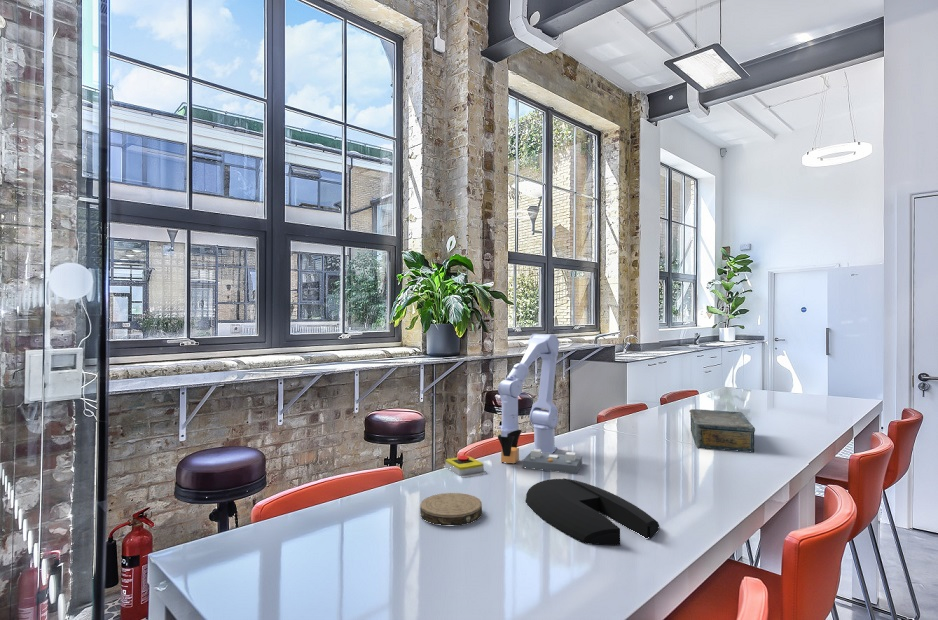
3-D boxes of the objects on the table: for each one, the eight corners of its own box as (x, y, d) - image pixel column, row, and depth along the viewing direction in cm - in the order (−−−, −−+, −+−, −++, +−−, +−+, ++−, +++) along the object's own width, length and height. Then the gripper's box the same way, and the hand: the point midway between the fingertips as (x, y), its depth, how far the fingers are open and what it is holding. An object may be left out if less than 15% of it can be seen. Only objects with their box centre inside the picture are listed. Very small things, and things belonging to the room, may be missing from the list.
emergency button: (466, 451, 182) (488, 461, 169) (466, 463, 182) (488, 475, 168) (442, 454, 177) (463, 465, 164) (442, 467, 177) (463, 479, 164)
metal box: (742, 434, 222) (742, 411, 222) (757, 453, 191) (756, 426, 191) (688, 431, 229) (688, 408, 229) (694, 449, 198) (694, 423, 198)
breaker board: (531, 458, 185) (530, 446, 185) (582, 463, 179) (581, 450, 179) (522, 468, 174) (522, 454, 174) (576, 473, 168) (576, 459, 168)
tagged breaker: (549, 463, 179) (549, 454, 179) (558, 464, 178) (558, 455, 178) (547, 465, 177) (547, 456, 177) (556, 466, 176) (556, 457, 176)
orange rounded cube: (505, 459, 185) (505, 446, 185) (519, 460, 183) (518, 447, 183) (501, 462, 180) (501, 449, 180) (515, 464, 179) (515, 451, 179)
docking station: (579, 484, 159) (579, 467, 159) (677, 535, 121) (677, 514, 121) (506, 494, 150) (506, 477, 150) (588, 554, 112) (587, 531, 112)
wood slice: (408, 513, 135) (408, 502, 136) (455, 499, 146) (455, 488, 146) (445, 533, 123) (445, 520, 123) (494, 516, 134) (494, 504, 134)
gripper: (504, 410, 190) (505, 447, 190) (492, 417, 177) (492, 457, 176) (523, 411, 188) (523, 448, 188) (512, 418, 174) (512, 459, 174)
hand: (509, 453), depth 182 cm, fingers open, 7 cm apart
